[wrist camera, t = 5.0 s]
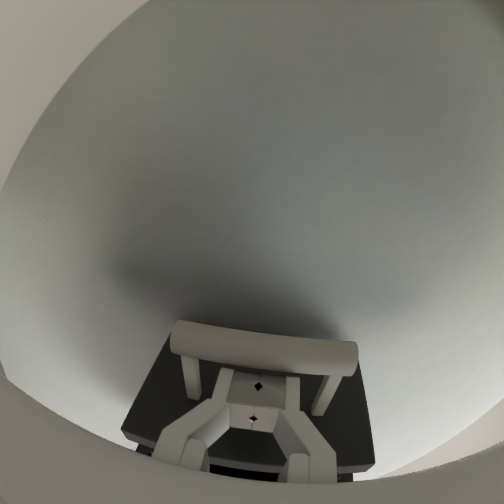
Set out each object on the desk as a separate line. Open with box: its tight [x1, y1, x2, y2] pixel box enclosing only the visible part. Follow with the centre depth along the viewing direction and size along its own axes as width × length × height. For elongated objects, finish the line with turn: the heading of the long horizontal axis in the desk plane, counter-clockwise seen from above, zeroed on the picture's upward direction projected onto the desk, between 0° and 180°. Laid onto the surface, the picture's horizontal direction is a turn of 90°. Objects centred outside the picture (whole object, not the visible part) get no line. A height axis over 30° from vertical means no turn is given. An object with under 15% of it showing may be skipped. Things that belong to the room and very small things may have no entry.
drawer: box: [121, 320, 375, 482], centre depth 14 cm, size 18×12×8 cm, turn 176°
